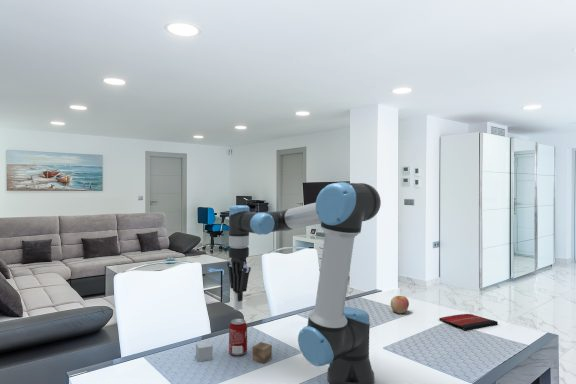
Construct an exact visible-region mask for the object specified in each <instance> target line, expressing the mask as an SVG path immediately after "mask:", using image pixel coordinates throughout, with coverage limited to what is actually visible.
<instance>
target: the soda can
mask: <svg viewBox="0 0 576 384" xmlns="http://www.w3.org/2000/svg"><path fill="white" fill-rule="evenodd" d="M228 352H229V354H231V355H233V356H243V355H244V354H246V353H247V352H248V324H247V321H246V319H245V318H244V319H243V318H233V319H232V320H230V324H229V326H228Z"/></svg>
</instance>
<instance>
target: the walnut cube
mask: <svg viewBox="0 0 576 384" xmlns="http://www.w3.org/2000/svg"><path fill="white" fill-rule="evenodd" d="M272 346H273V345H272V344H269V343H266V342H262V341H259V342H258V343H256V344H255V345H253V346H252V361H254V362H257V363H261V364H265V363H266V362H269V361H270V360H271V359H272V357H273V355H272V354H273V353H272V351H273V350H272V348H273V347H272Z"/></svg>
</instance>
